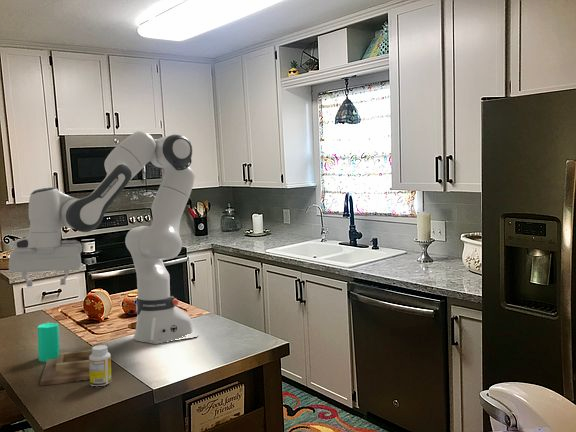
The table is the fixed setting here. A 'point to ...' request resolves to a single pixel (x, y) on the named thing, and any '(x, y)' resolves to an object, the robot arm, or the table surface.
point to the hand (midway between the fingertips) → (46, 285)
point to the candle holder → (67, 368)
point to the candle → (48, 341)
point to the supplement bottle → (100, 366)
